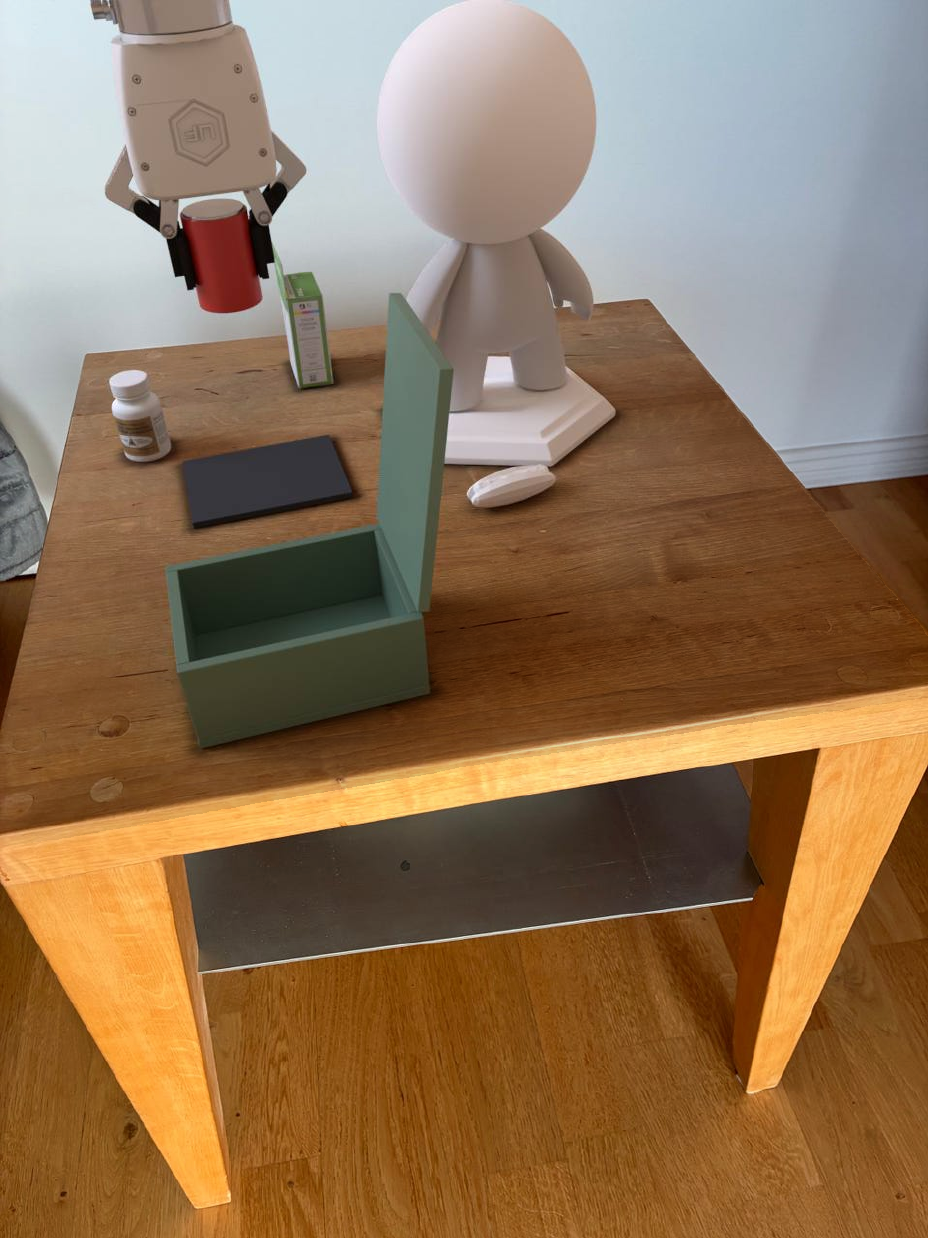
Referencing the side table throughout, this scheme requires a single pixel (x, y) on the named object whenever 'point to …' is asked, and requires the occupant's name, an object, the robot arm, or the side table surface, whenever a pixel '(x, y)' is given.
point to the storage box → (294, 634)
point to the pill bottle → (139, 417)
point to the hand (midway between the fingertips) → (226, 276)
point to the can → (222, 255)
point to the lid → (412, 446)
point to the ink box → (305, 327)
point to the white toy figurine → (496, 220)
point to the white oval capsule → (510, 486)
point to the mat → (264, 481)
